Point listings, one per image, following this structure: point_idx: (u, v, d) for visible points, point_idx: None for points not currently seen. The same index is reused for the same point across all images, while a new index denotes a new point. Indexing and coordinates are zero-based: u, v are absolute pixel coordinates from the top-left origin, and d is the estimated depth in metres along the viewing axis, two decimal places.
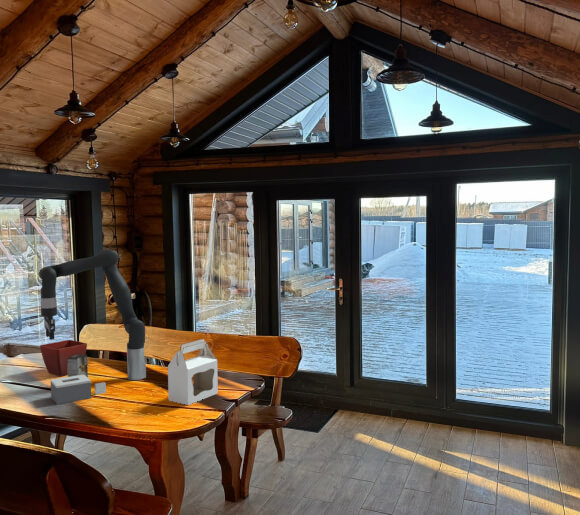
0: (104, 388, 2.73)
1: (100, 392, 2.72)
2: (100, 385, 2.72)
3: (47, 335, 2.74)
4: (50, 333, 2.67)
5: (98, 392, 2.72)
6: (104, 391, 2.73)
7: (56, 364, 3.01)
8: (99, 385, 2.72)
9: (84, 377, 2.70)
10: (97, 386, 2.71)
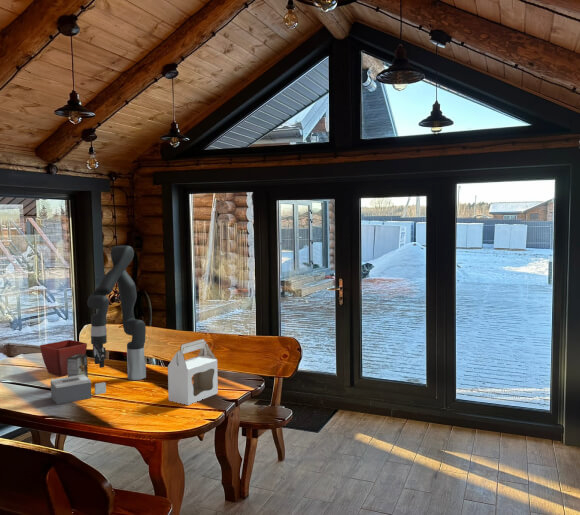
0: (104, 388, 2.73)
1: (100, 392, 2.72)
2: (100, 385, 2.72)
3: (96, 362, 2.75)
4: (100, 361, 2.68)
5: (98, 392, 2.72)
6: (104, 391, 2.73)
7: (56, 364, 3.01)
8: (99, 385, 2.72)
9: (84, 377, 2.70)
10: (97, 386, 2.71)
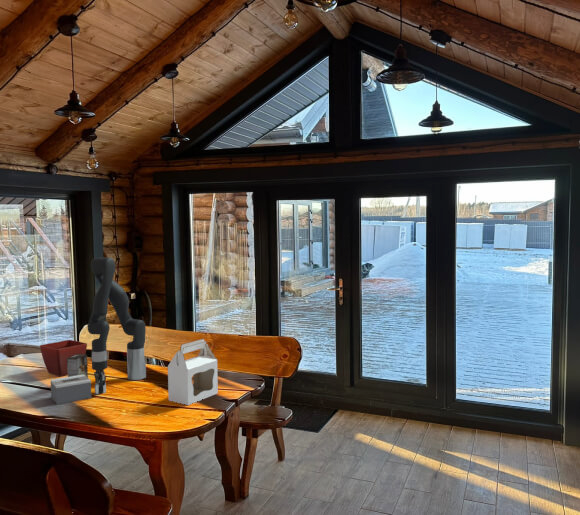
0: (104, 388, 2.73)
1: None
2: None
3: None
4: (99, 387, 2.71)
5: (98, 392, 2.72)
6: (104, 391, 2.73)
7: (56, 364, 3.01)
8: None
9: (84, 377, 2.70)
10: (97, 386, 2.71)
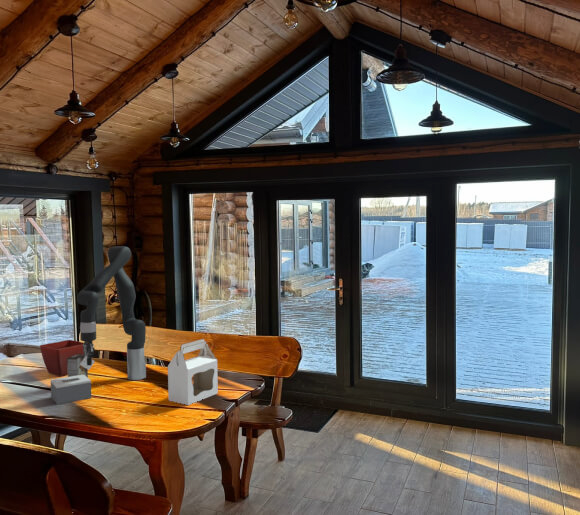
0: (90, 365, 2.69)
1: (85, 366, 2.67)
2: None
3: None
4: (88, 359, 2.67)
5: (83, 364, 2.67)
6: (88, 367, 2.68)
7: (56, 364, 3.01)
8: None
9: (84, 377, 2.70)
10: None
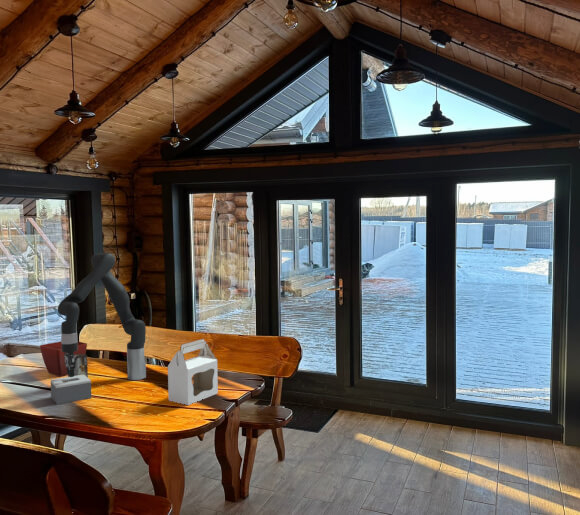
0: None
1: None
2: None
3: (68, 373, 2.67)
4: (70, 370, 2.62)
5: None
6: None
7: (56, 364, 3.01)
8: None
9: (84, 377, 2.70)
10: None
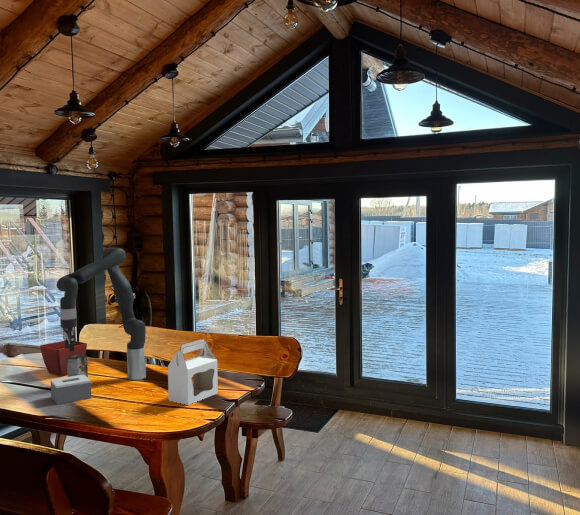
0: None
1: None
2: None
3: (66, 347, 2.68)
4: (70, 345, 2.60)
5: None
6: None
7: (56, 364, 3.01)
8: None
9: (84, 377, 2.70)
10: None
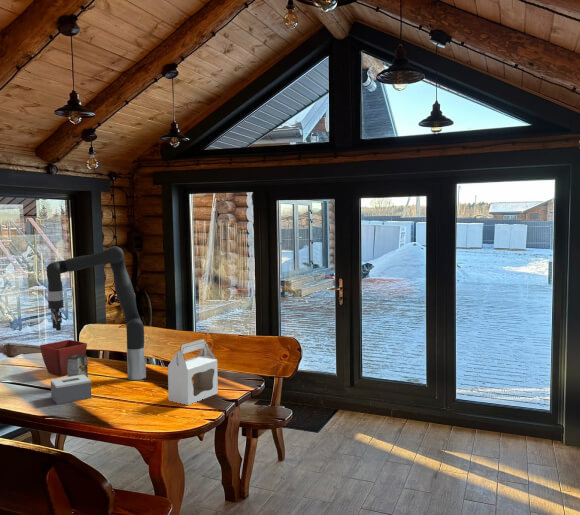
0: None
1: None
2: None
3: (54, 326, 2.90)
4: (57, 324, 2.82)
5: None
6: None
7: (56, 364, 3.01)
8: None
9: (84, 377, 2.70)
10: None
